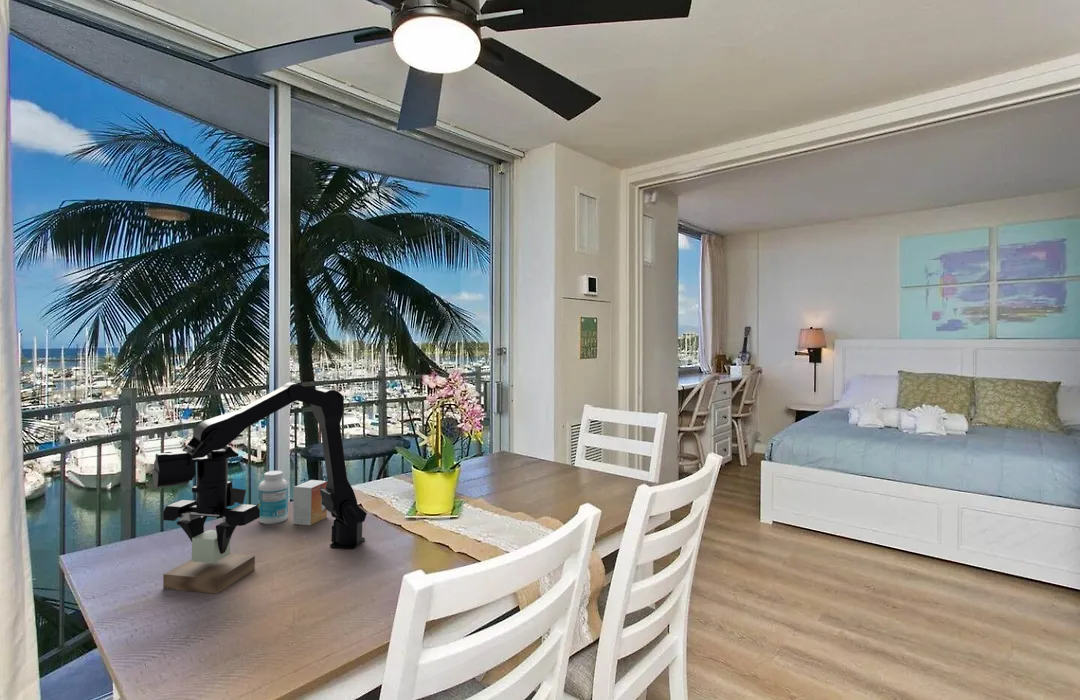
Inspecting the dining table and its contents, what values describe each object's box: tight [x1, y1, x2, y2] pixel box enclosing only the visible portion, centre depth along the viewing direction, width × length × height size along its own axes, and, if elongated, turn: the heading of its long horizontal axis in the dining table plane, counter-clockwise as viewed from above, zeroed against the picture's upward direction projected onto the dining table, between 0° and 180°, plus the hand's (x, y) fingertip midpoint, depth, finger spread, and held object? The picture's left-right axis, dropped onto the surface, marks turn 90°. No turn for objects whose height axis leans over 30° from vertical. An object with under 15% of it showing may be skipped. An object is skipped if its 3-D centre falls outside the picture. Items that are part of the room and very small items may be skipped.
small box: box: [292, 479, 328, 526], centre depth 157 cm, size 8×6×10 cm
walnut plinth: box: [162, 553, 256, 594], centre depth 119 cm, size 12×12×3 cm
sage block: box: [191, 529, 231, 563], centre depth 119 cm, size 5×5×5 cm
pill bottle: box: [257, 470, 289, 525], centre depth 156 cm, size 8×7×14 cm
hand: (211, 552), depth 119 cm, fingers closed on sage block, 5 cm apart
